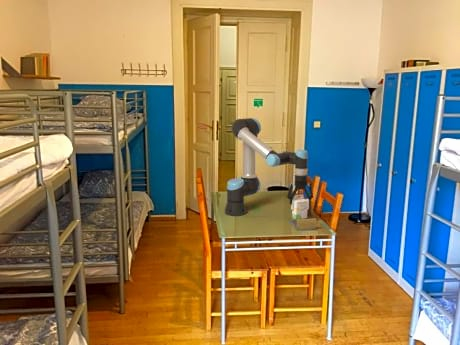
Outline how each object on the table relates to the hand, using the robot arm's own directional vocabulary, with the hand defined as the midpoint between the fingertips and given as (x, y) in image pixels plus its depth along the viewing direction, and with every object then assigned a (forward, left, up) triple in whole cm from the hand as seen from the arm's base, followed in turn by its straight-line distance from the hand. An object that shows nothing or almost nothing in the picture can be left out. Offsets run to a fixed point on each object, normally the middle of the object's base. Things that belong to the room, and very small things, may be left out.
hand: (299, 209), depth 257 cm
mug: (+7, +16, -9) cm, 20 cm away
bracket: (0, -5, -9) cm, 10 cm away
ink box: (0, 0, -6) cm, 6 cm away
